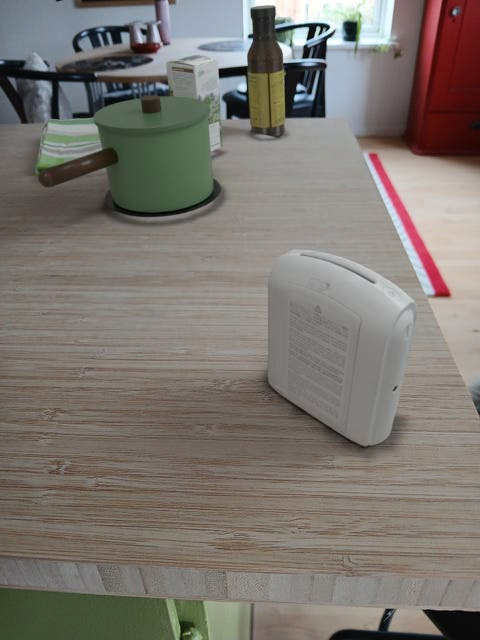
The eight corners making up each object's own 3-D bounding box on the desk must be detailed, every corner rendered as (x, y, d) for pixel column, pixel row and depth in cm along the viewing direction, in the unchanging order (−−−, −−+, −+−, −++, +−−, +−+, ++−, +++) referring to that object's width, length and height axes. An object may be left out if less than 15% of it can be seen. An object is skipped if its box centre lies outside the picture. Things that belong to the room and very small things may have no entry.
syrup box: (196, 146, 89) (188, 53, 80) (224, 152, 86) (218, 56, 77) (175, 156, 85) (163, 60, 77) (202, 162, 82) (194, 63, 74)
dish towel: (137, 128, 99) (134, 109, 97) (147, 168, 81) (143, 146, 79) (46, 138, 97) (41, 119, 95) (34, 182, 79) (28, 159, 76)
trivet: (81, 209, 70) (79, 202, 69) (156, 170, 81) (155, 164, 80) (174, 234, 63) (173, 226, 62) (242, 187, 73) (242, 181, 73)
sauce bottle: (282, 128, 95) (283, 2, 83) (287, 138, 90) (288, 6, 78) (248, 130, 95) (243, 5, 83) (250, 141, 90) (246, 9, 78)
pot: (167, 164, 79) (156, 79, 72) (237, 186, 71) (232, 92, 64) (24, 220, 65) (-8, 121, 58) (91, 255, 57) (64, 145, 50)
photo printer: (404, 423, 37) (436, 278, 30) (370, 459, 35) (396, 310, 27) (294, 360, 43) (298, 226, 36) (259, 387, 41) (256, 249, 33)
